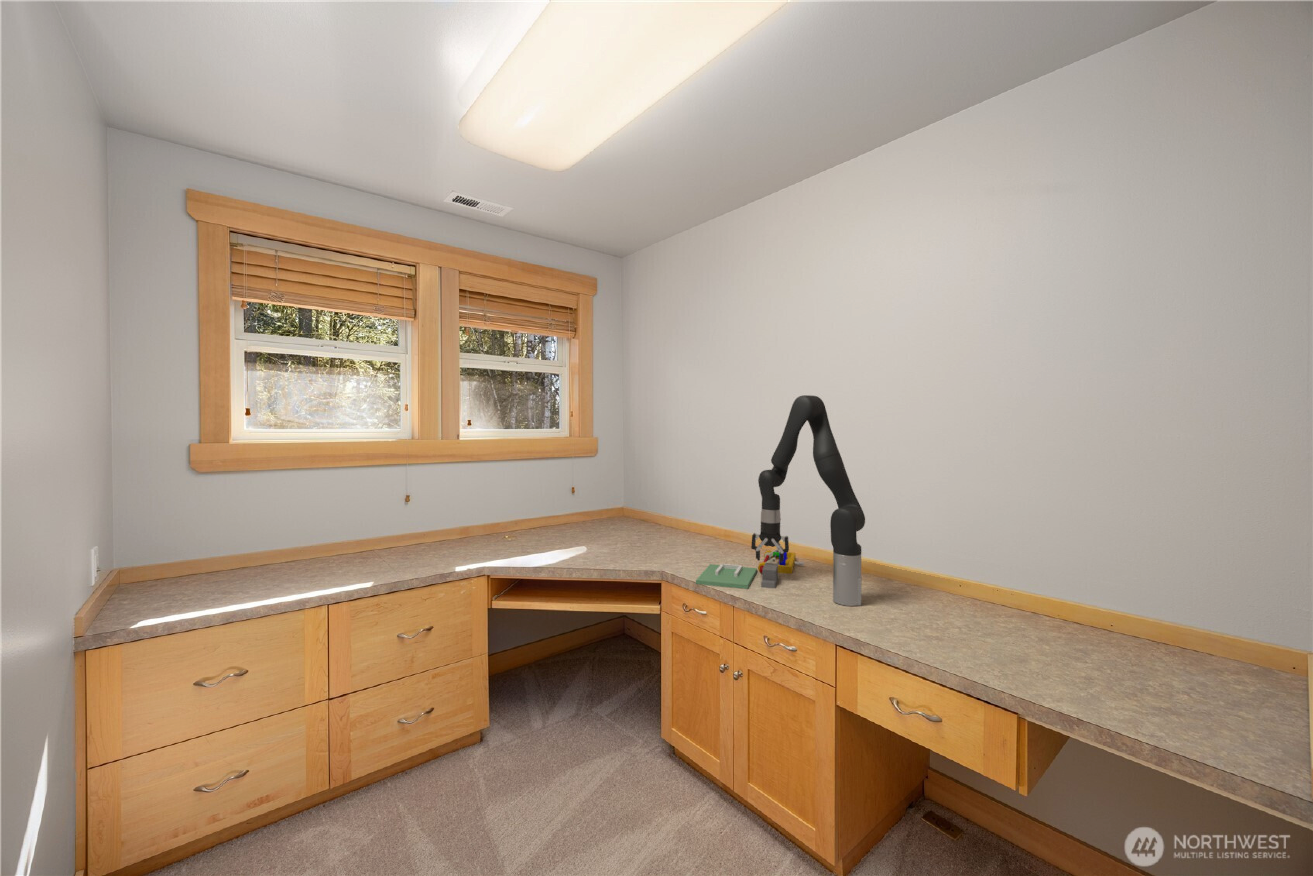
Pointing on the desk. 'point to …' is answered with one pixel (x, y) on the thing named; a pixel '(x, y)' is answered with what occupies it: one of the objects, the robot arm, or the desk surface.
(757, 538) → the robot arm
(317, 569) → the desk surface
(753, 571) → the green plate with u-rail
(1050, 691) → the desk surface
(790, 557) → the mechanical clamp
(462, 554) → the desk surface
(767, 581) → the grey stepped block
